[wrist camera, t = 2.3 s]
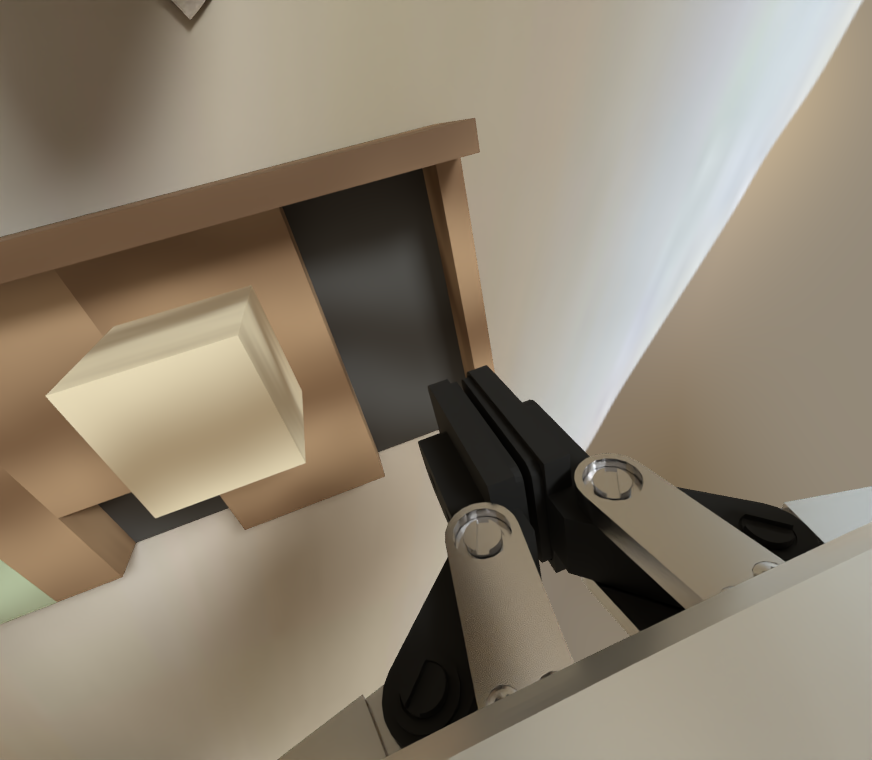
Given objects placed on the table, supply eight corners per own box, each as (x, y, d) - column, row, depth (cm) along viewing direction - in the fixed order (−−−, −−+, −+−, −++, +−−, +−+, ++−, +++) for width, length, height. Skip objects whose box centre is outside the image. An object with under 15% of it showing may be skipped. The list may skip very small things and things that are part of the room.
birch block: (113, 326, 15) (44, 396, 11) (251, 285, 16) (237, 335, 11) (187, 430, 18) (155, 518, 13) (301, 391, 18) (305, 463, 14)
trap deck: (-550, 379, 12) (-906, 478, 9) (434, 124, 17) (475, 117, 13) (-101, 625, 21) (-188, 732, 17) (486, 407, 25) (520, 452, 21)
